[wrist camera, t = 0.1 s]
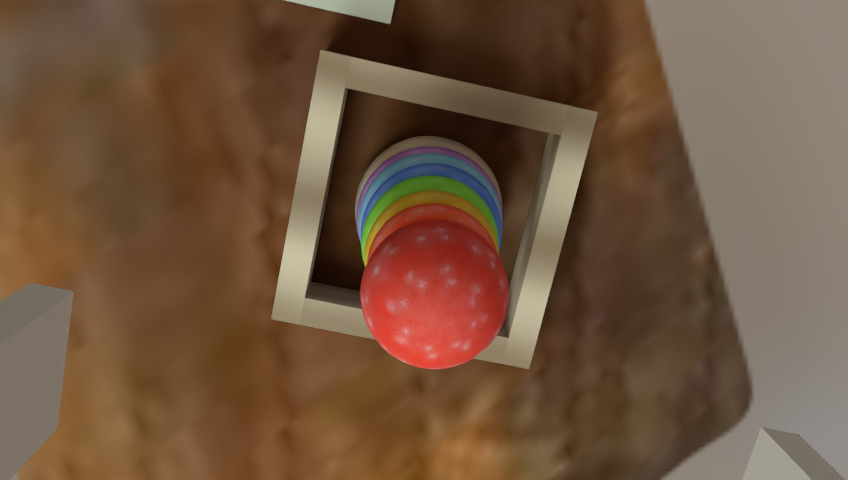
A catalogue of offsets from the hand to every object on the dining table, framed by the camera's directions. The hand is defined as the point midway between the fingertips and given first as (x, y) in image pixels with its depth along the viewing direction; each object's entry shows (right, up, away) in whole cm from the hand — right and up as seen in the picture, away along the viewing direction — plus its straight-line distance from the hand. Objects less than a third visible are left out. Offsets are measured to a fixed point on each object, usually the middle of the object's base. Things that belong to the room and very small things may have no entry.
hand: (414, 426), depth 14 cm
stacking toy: (0, +5, +28) cm, 28 cm away
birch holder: (0, +5, +27) cm, 28 cm away
